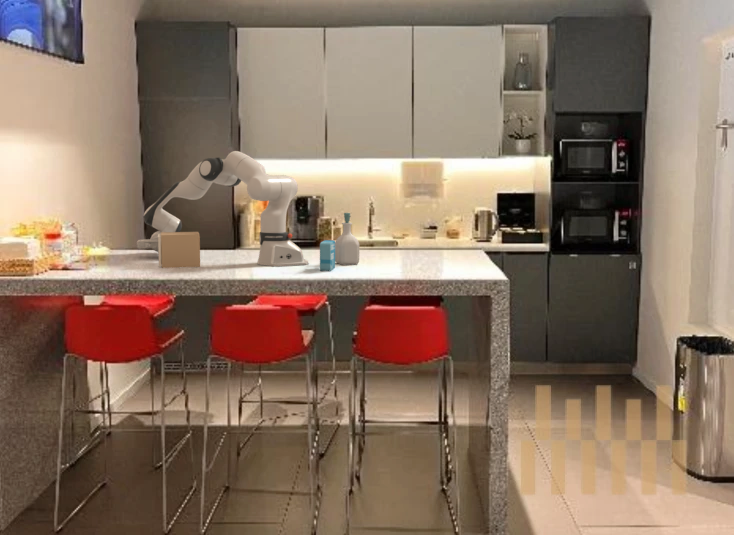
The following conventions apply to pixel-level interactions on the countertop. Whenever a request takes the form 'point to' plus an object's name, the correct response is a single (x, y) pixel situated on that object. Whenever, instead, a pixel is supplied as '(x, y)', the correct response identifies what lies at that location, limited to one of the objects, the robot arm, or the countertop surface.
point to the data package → (327, 255)
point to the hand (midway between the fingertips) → (159, 245)
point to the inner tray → (159, 250)
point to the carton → (180, 249)
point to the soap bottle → (347, 245)
